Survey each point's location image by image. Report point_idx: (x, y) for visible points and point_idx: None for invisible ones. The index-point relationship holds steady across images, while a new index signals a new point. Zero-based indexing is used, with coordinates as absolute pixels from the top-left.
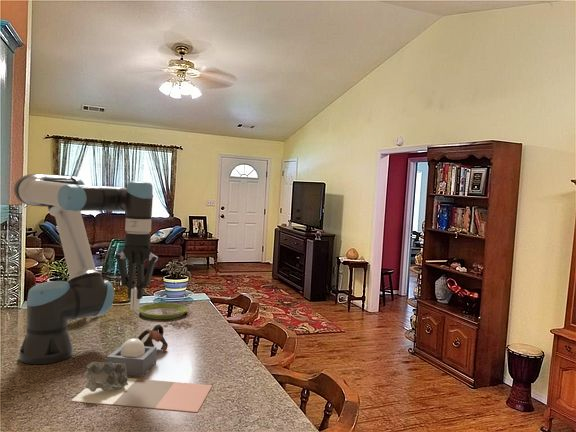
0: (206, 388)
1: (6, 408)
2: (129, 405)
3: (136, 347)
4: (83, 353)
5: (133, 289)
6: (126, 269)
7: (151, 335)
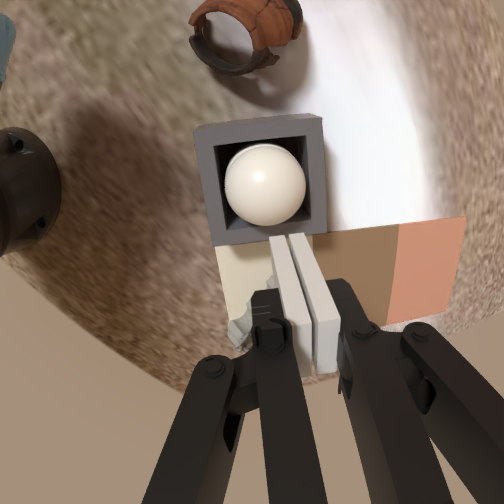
0: (458, 234)
1: (162, 380)
2: None
3: (292, 214)
4: (68, 132)
5: (310, 372)
6: (199, 501)
7: (262, 40)
